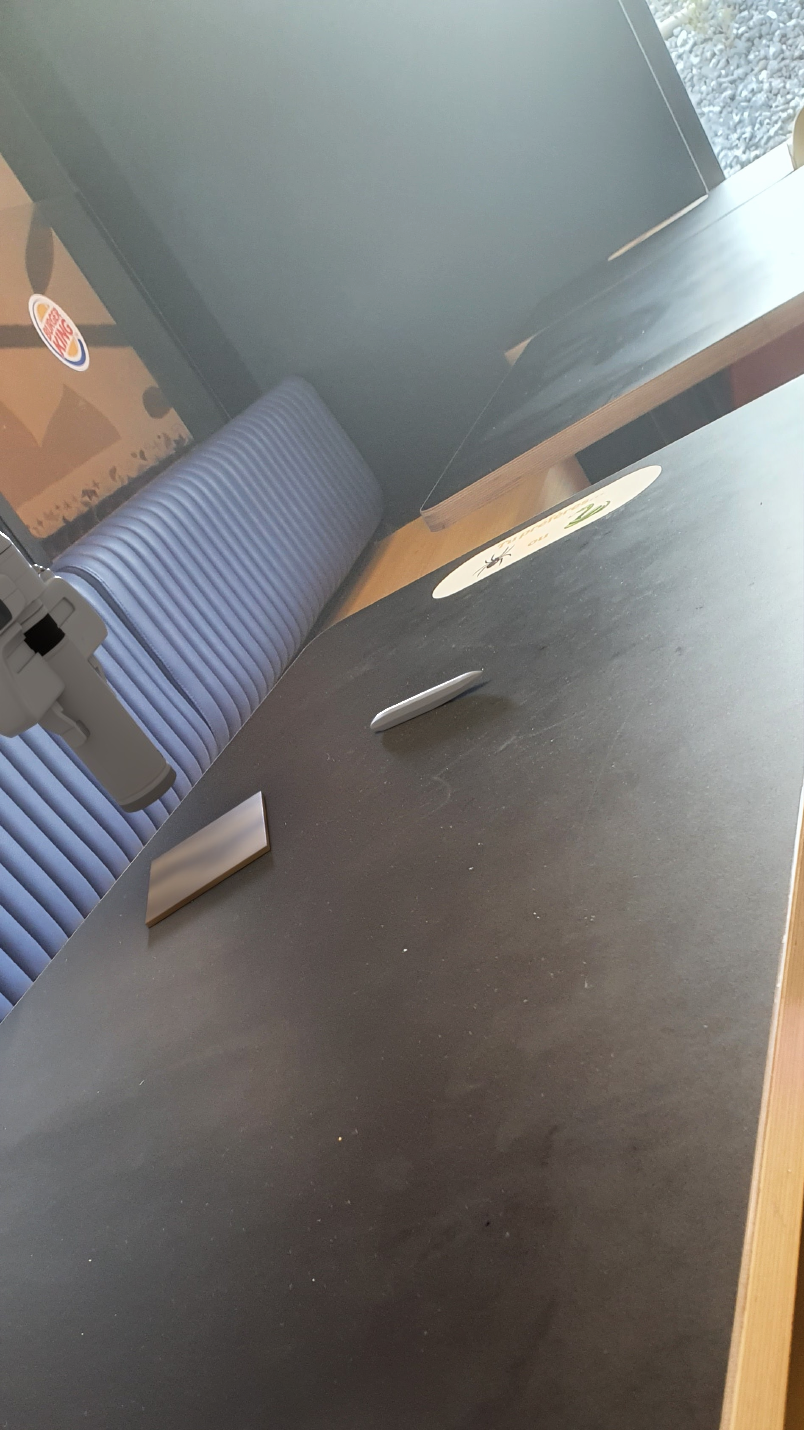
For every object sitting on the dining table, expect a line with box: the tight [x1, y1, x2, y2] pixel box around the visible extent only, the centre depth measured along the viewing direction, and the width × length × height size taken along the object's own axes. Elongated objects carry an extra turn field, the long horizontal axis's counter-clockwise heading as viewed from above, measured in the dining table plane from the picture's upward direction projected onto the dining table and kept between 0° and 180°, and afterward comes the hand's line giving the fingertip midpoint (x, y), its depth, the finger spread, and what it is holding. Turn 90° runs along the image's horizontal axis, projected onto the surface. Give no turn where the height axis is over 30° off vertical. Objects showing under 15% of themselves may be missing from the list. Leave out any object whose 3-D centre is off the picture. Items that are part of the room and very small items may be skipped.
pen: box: [369, 670, 484, 732], centre depth 116 cm, size 2×14×2 cm, turn 80°
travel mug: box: [23, 613, 178, 814], centre depth 107 cm, size 6×7×20 cm
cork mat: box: [144, 790, 271, 929], centre depth 116 cm, size 14×14×1 cm
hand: (96, 723), depth 108 cm, fingers closed on travel mug, 6 cm apart
